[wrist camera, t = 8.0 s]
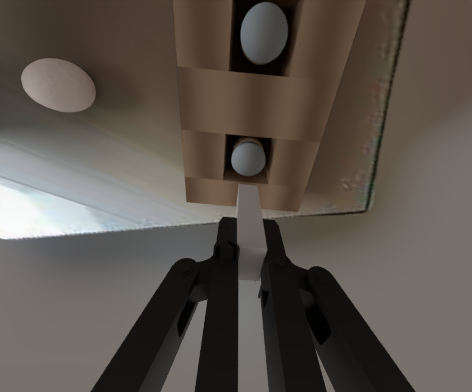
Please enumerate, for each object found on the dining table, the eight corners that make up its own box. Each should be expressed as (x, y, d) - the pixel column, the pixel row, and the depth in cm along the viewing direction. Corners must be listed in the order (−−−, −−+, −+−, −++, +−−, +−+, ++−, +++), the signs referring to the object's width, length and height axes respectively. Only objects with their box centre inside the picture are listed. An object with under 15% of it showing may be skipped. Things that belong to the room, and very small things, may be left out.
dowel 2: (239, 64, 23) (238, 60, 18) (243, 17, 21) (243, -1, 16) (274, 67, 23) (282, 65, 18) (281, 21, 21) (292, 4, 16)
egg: (108, 113, 27) (64, 125, 20) (67, 99, 26) (8, 107, 20) (106, 69, 24) (55, 67, 17) (60, 53, 23) (-11, 44, 17)
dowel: (232, 158, 29) (230, 174, 25) (234, 130, 27) (232, 142, 22) (259, 160, 29) (262, 177, 25) (263, 133, 27) (268, 145, 22)
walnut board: (195, 182, 32) (186, 202, 27) (186, -57, 18) (165, -109, 13) (289, 190, 32) (298, 211, 27) (352, -40, 18) (393, -84, 13)
